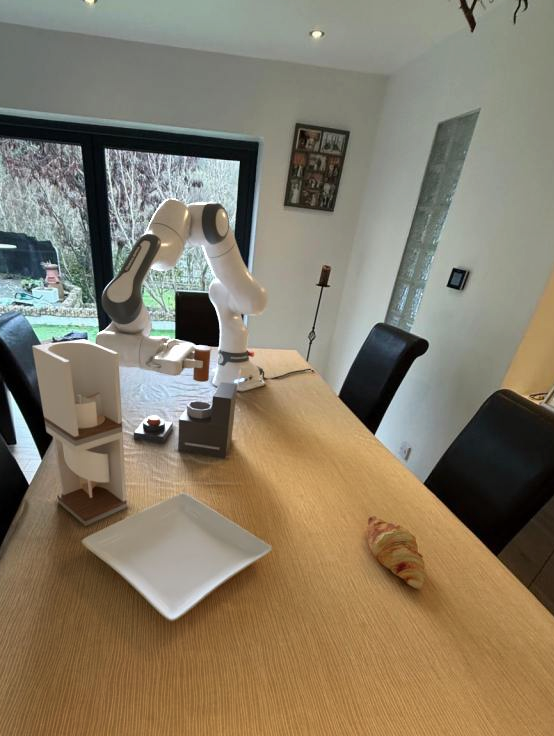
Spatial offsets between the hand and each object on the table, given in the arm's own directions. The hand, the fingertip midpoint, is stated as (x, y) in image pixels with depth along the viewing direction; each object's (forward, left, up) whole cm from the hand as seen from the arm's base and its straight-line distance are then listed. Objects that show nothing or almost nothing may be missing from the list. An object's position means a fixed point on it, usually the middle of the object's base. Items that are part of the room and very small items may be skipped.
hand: (205, 361), depth 111 cm
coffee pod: (+1, -1, -5) cm, 5 cm away
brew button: (+9, -13, -22) cm, 27 cm away
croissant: (-8, +62, -25) cm, 68 cm away
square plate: (+31, +39, -25) cm, 56 cm away
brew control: (+9, -13, -25) cm, 30 cm away
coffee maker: (-1, +1, -25) cm, 25 cm away
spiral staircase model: (+39, +14, -25) cm, 48 cm away
